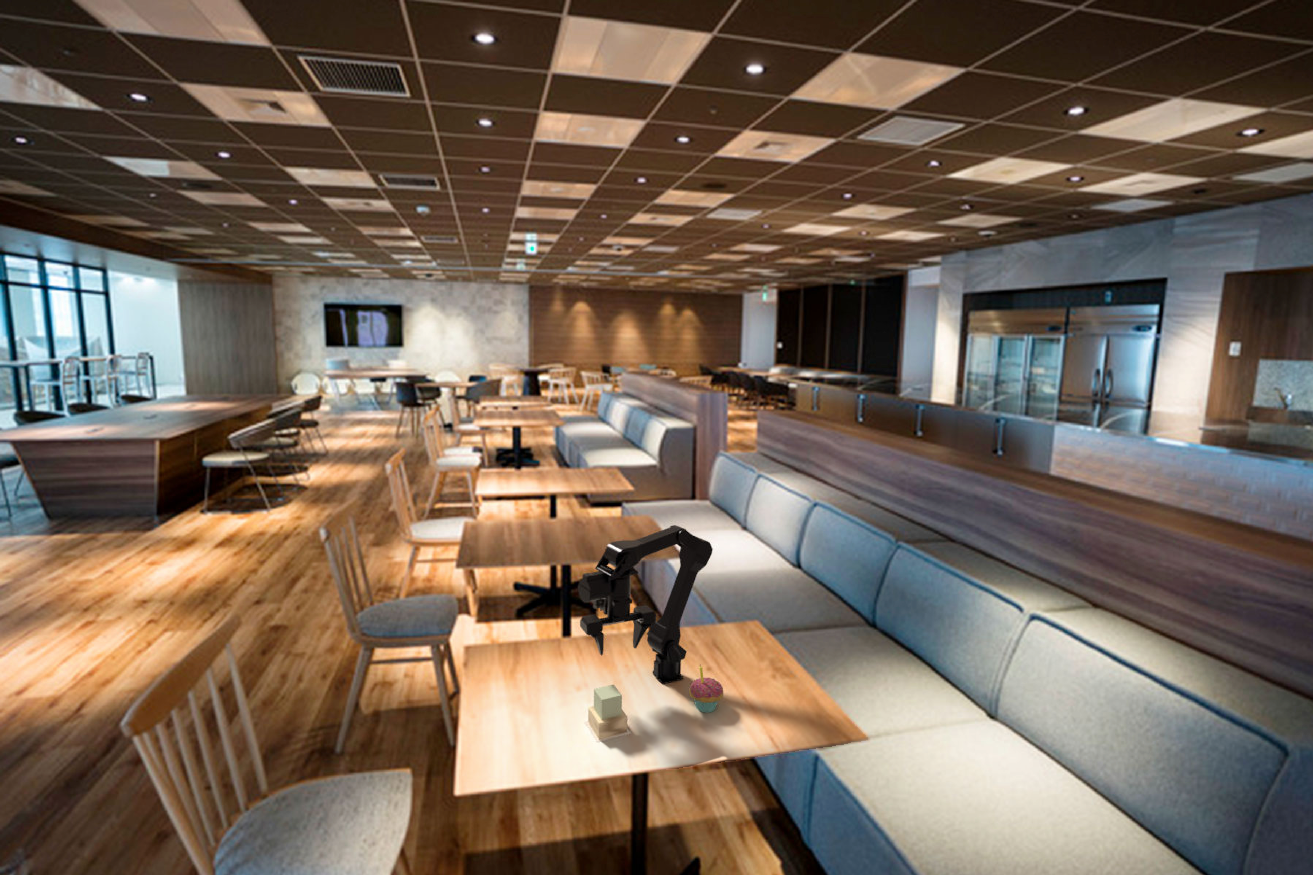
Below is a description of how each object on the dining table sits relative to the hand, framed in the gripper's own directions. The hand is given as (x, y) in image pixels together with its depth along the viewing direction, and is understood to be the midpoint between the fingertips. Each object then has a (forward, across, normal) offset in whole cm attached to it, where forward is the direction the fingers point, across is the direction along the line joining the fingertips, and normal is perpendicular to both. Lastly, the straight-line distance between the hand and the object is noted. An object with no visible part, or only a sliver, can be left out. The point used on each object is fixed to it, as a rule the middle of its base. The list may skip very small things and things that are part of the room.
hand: (618, 651), depth 169 cm
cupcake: (+12, -18, +14) cm, 26 cm away
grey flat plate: (+12, +6, +13) cm, 19 cm away
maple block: (+11, +8, +13) cm, 19 cm away
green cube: (+7, +8, +13) cm, 17 cm away
